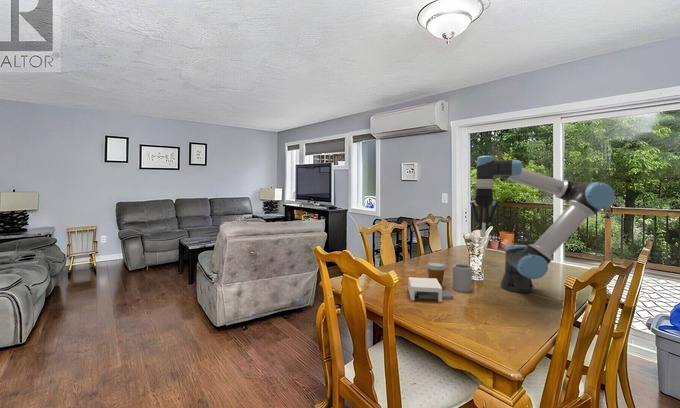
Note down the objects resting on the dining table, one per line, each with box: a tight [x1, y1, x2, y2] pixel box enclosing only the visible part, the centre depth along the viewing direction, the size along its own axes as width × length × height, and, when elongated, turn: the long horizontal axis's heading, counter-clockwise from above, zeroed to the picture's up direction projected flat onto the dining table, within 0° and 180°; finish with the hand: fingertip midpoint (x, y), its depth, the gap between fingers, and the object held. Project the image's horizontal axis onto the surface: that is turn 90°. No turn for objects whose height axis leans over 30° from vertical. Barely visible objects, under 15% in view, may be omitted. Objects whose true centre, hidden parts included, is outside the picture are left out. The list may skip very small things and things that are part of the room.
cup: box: [452, 263, 473, 293], centre depth 166 cm, size 9×9×12 cm
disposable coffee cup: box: [426, 261, 447, 288], centre depth 170 cm, size 10×10×12 cm
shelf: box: [407, 276, 443, 303], centre depth 156 cm, size 14×15×6 cm
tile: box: [417, 290, 454, 300], centre depth 156 cm, size 16×8×2 cm, turn 88°
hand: (482, 236), depth 156 cm, fingers closed
